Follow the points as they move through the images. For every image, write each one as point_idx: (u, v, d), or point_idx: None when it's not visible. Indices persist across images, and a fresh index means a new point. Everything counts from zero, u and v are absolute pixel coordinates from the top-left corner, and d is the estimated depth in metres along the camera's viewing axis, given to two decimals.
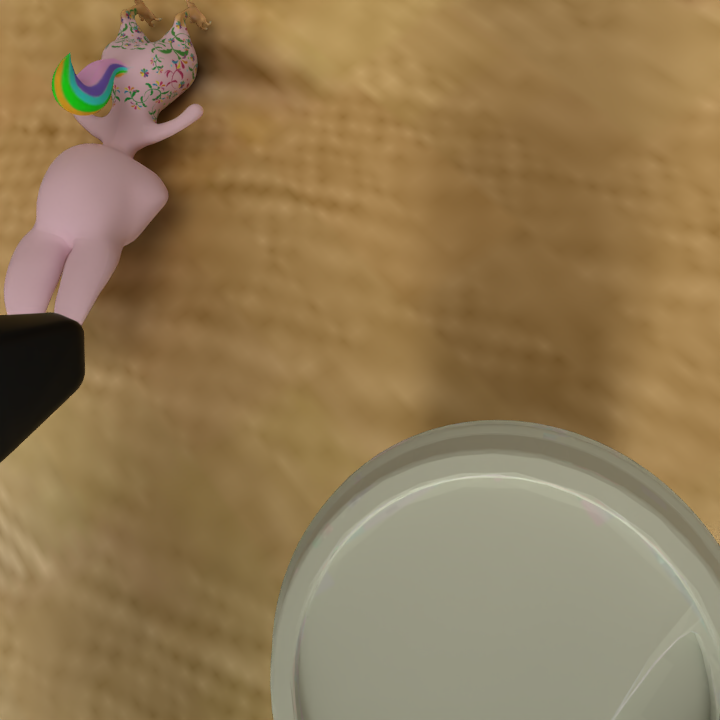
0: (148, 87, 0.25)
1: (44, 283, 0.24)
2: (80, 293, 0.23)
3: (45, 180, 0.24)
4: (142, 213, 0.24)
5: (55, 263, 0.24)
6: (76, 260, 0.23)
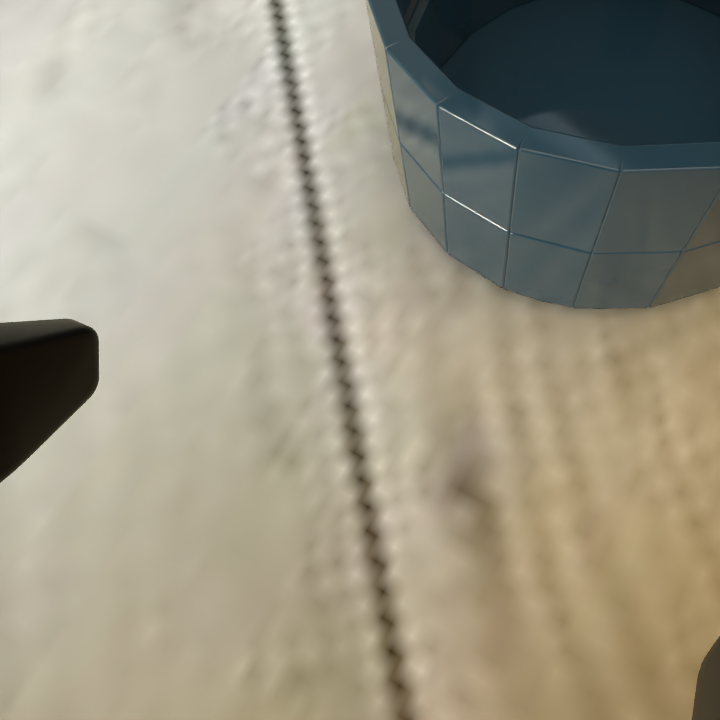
0: None
1: None
2: None
3: None
4: None
5: None
6: None
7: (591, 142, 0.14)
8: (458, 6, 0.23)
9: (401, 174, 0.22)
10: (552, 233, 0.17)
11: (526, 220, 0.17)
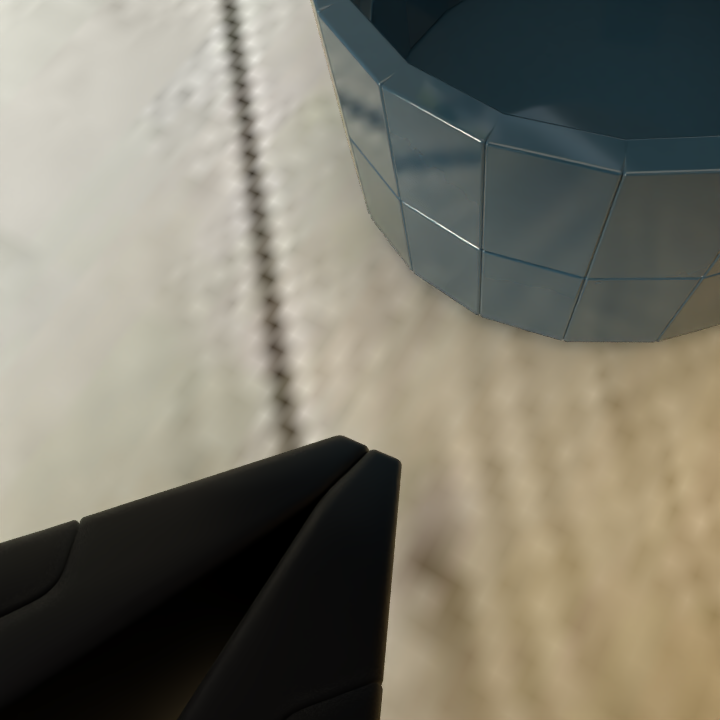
0: None
1: None
2: None
3: None
4: None
5: None
6: None
7: (584, 134, 0.11)
8: None
9: (358, 176, 0.18)
10: (535, 253, 0.13)
11: (501, 236, 0.13)
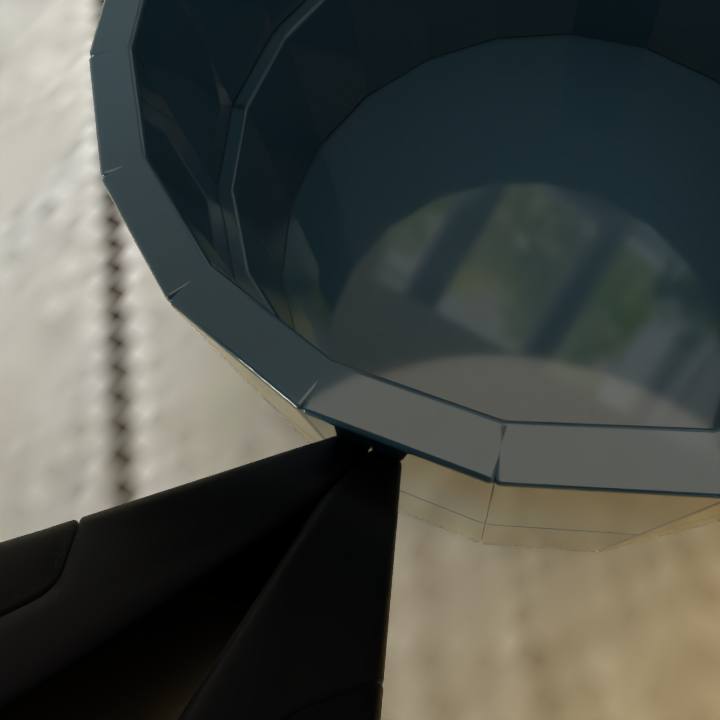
0: None
1: None
2: None
3: None
4: None
5: None
6: None
7: (443, 408, 0.07)
8: (336, 62, 0.16)
9: None
10: (415, 492, 0.10)
11: None
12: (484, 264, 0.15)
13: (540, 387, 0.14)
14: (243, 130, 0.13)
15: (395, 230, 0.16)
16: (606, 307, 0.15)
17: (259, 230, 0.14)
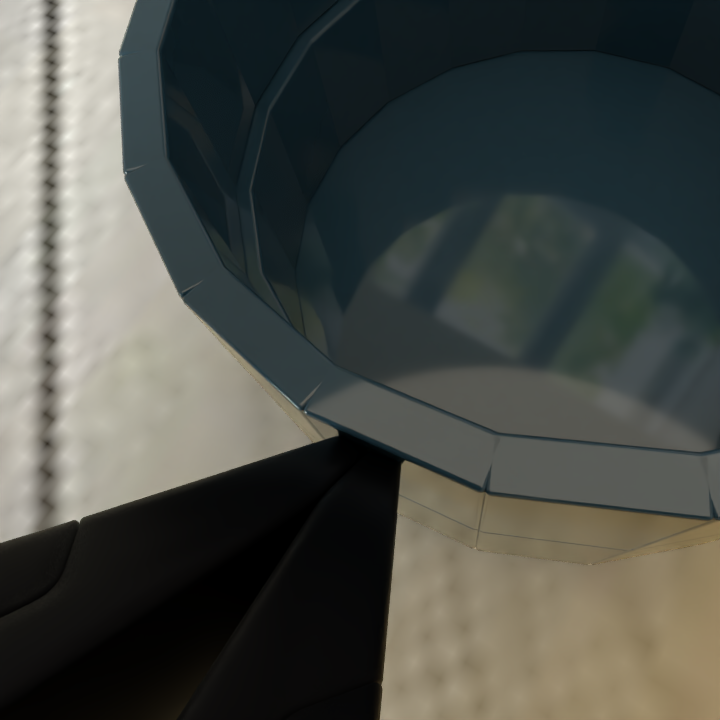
0: None
1: None
2: None
3: None
4: None
5: None
6: None
7: (439, 417, 0.07)
8: (359, 68, 0.16)
9: None
10: (411, 496, 0.10)
11: None
12: (495, 273, 0.16)
13: (543, 399, 0.14)
14: (264, 132, 0.14)
15: (409, 236, 0.16)
16: (613, 323, 0.15)
17: (275, 230, 0.15)
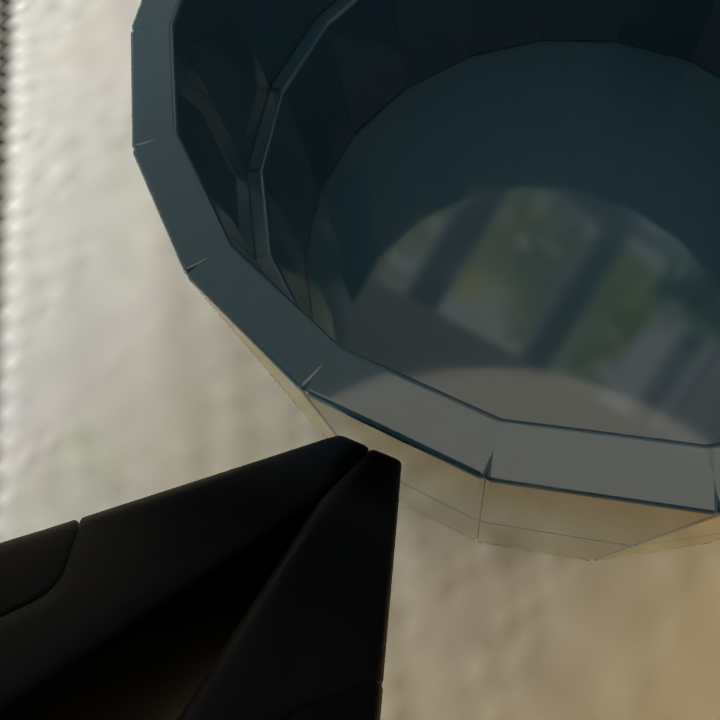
0: None
1: None
2: None
3: None
4: None
5: None
6: None
7: (441, 401, 0.07)
8: (376, 53, 0.16)
9: None
10: (412, 483, 0.10)
11: None
12: (506, 265, 0.16)
13: (550, 393, 0.14)
14: (277, 114, 0.14)
15: (420, 225, 0.16)
16: (624, 318, 0.15)
17: (285, 214, 0.15)
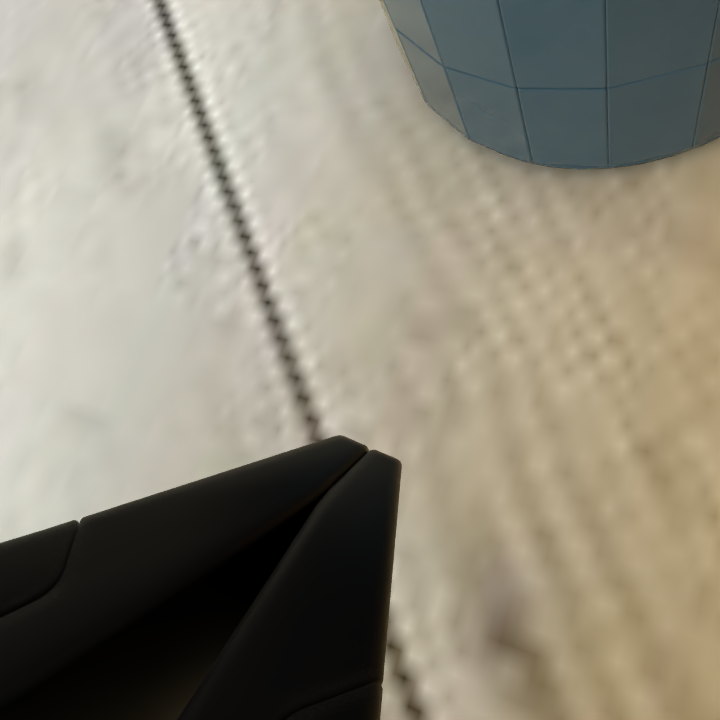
0: None
1: None
2: None
3: None
4: None
5: None
6: None
7: None
8: None
9: (410, 70, 0.22)
10: (559, 75, 0.16)
11: (528, 67, 0.16)
12: None
13: None
14: None
15: None
16: None
17: None
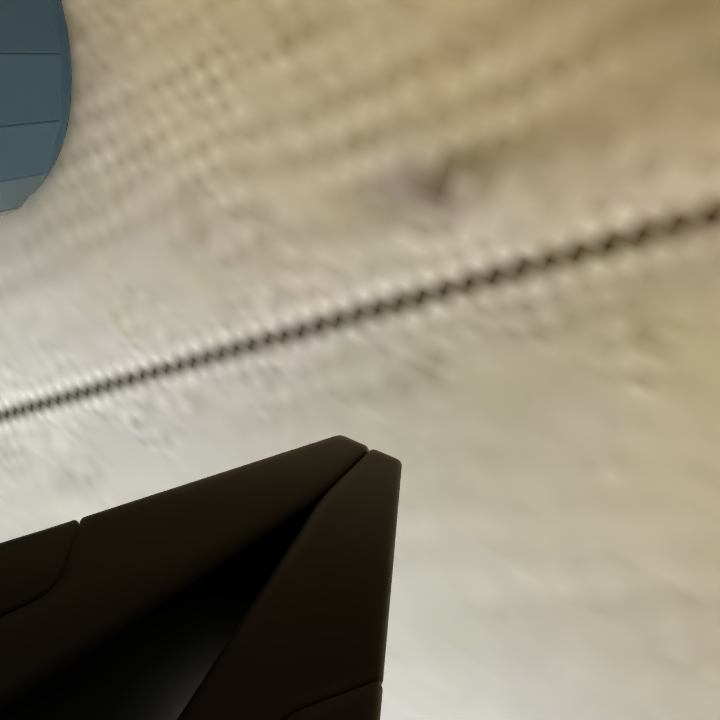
0: None
1: None
2: None
3: None
4: None
5: None
6: None
7: None
8: None
9: None
10: None
11: None
12: None
13: None
14: None
15: None
16: None
17: None
